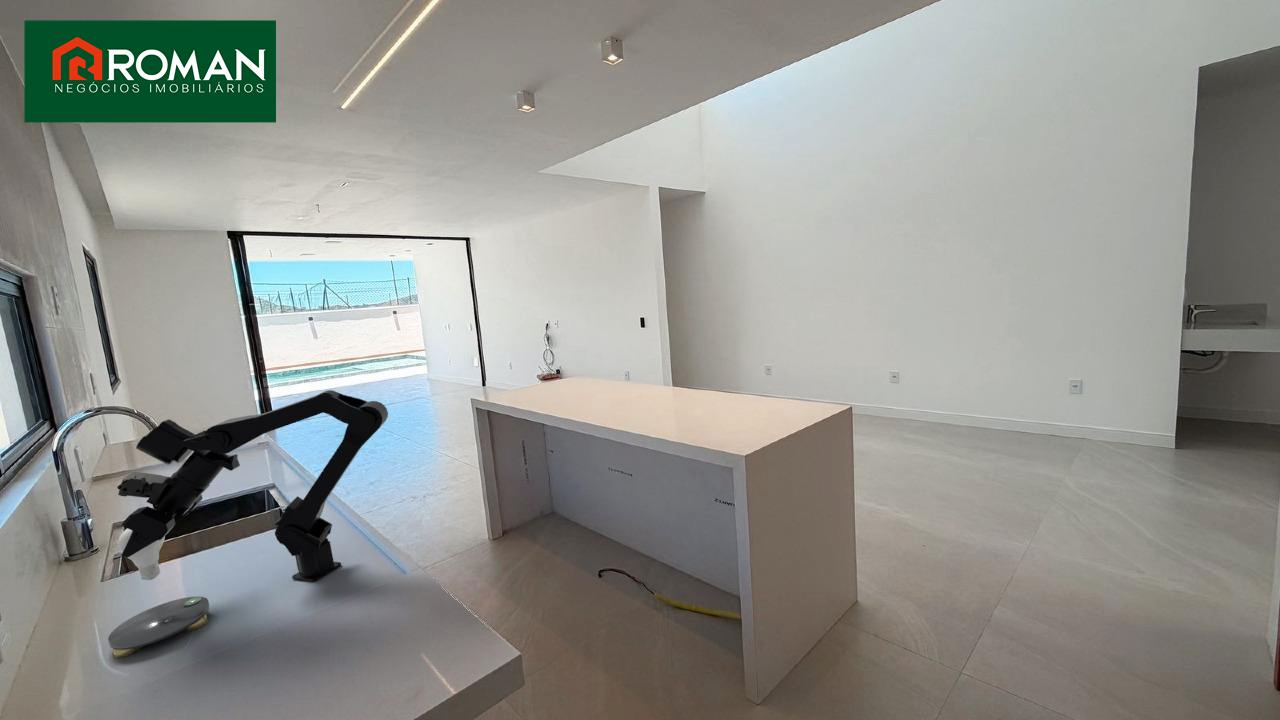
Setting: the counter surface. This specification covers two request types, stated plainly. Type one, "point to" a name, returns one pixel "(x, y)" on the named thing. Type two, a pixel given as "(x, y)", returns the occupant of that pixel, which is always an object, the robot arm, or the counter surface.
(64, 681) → the counter surface
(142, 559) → the lightbulb
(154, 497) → the robot arm
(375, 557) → the counter surface
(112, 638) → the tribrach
